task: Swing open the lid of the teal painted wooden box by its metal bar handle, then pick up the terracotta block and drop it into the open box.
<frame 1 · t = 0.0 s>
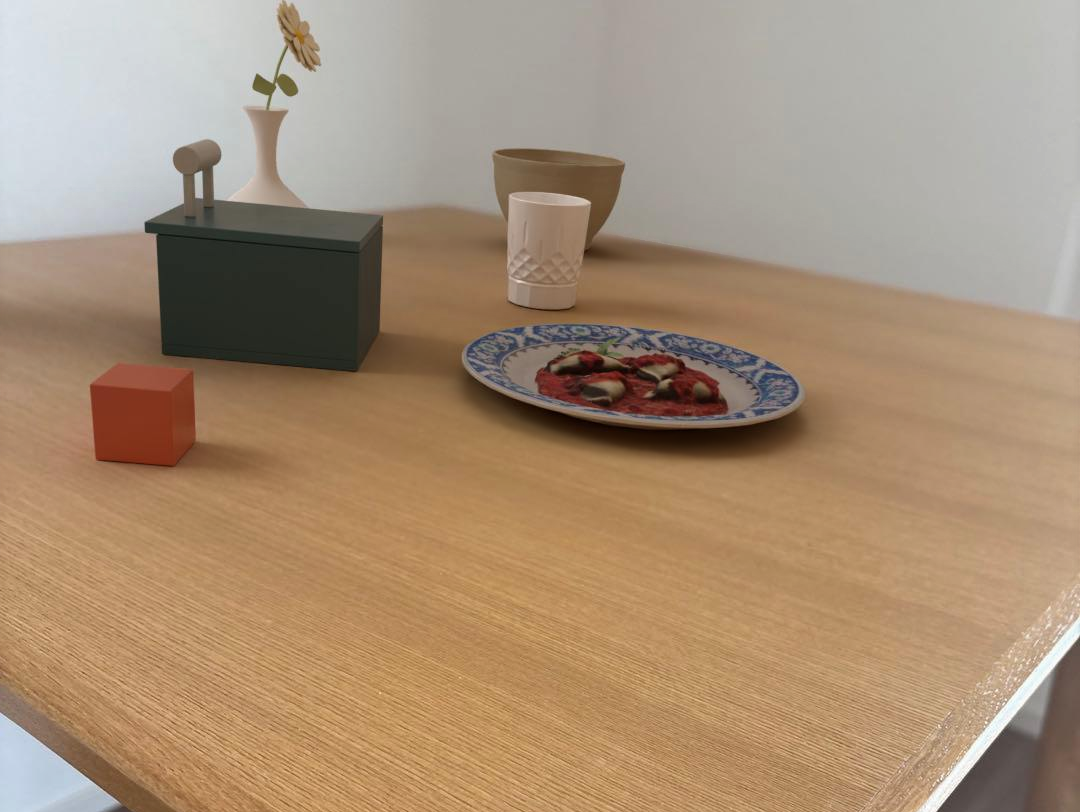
planter bowl: (550, 248, 141), on the table
white cup: (540, 304, 112), on the table
chest: (277, 341, 91), on the table
block: (147, 449, 67), on the table
lid: (271, 189, 86), point 12 cm above the table, hinge at 0.0°
flower in vase: (272, 234, 133), on the table
ceramic plate: (629, 397, 86), on the table
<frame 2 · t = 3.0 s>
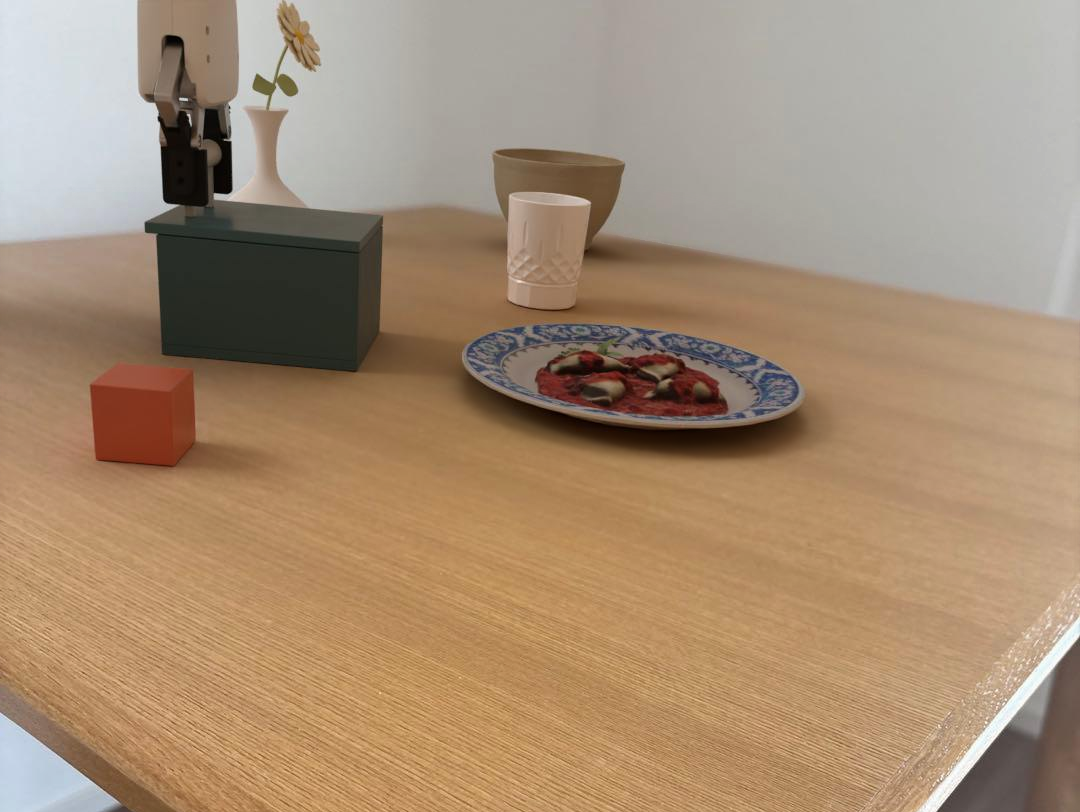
hand: (199, 196, 86), 11 cm above the table, tool pointing down, fingers closed on lid, 6 cm apart
lid: (271, 189, 86), point 12 cm above the table, hinge at 0.0°, touching gripper
everything else where it was.
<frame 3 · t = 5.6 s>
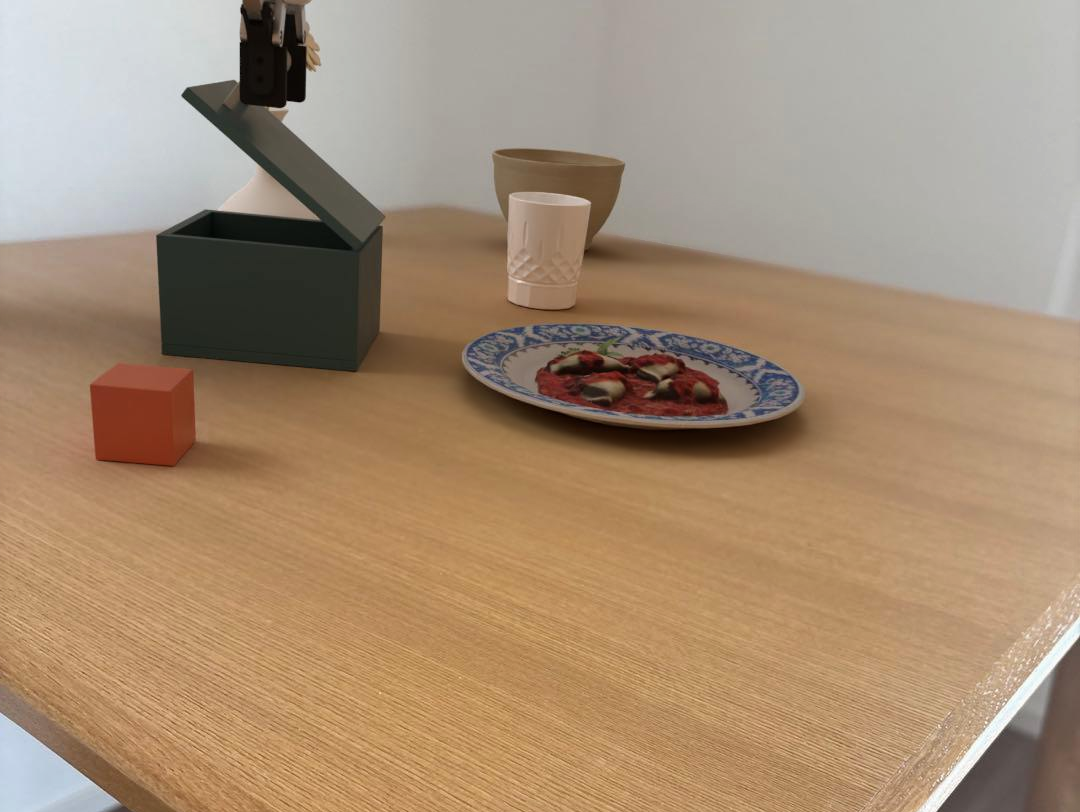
hand: (273, 100, 83), 18 cm above the table, tool pointing down, fingers closed on lid, 6 cm apart
lid: (313, 135, 84), point 16 cm above the table, hinge at 37.6°, touching gripper
everything else where it was.
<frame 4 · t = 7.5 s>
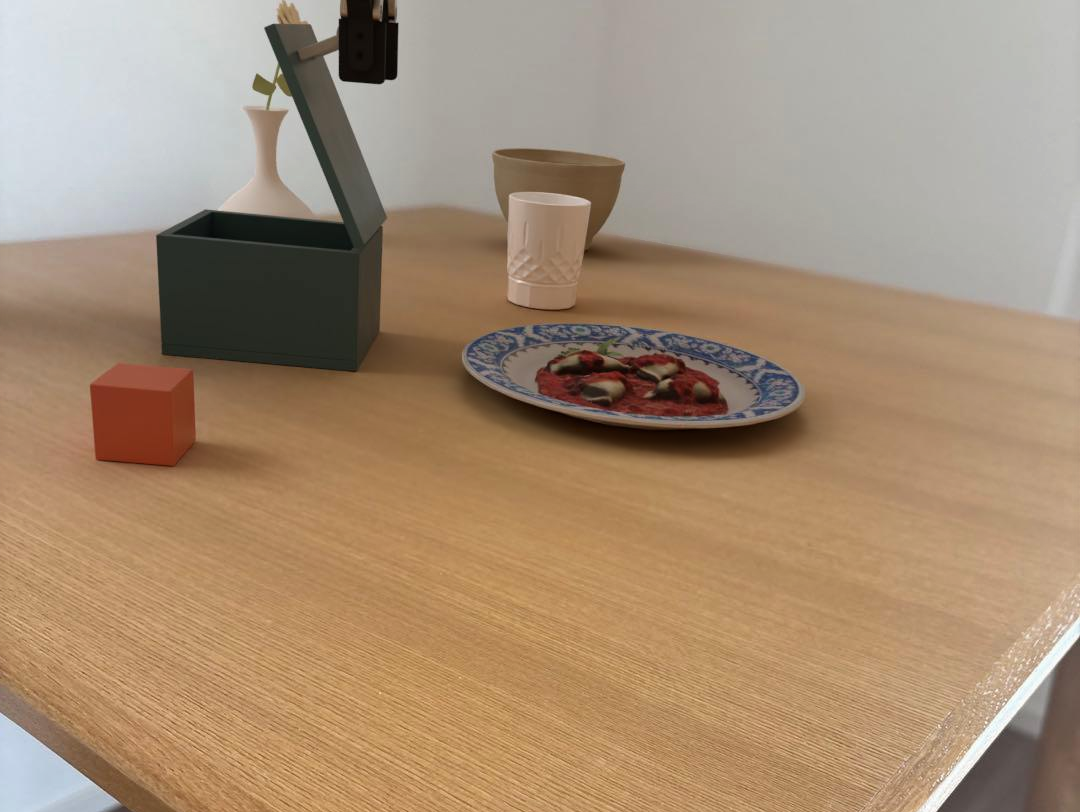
hand: (369, 78, 82), 20 cm above the table, tool pointing down, fingers closed on lid, 6 cm apart
lid: (362, 121, 84), point 17 cm above the table, hinge at 65.5°, touching gripper
everything else where it was.
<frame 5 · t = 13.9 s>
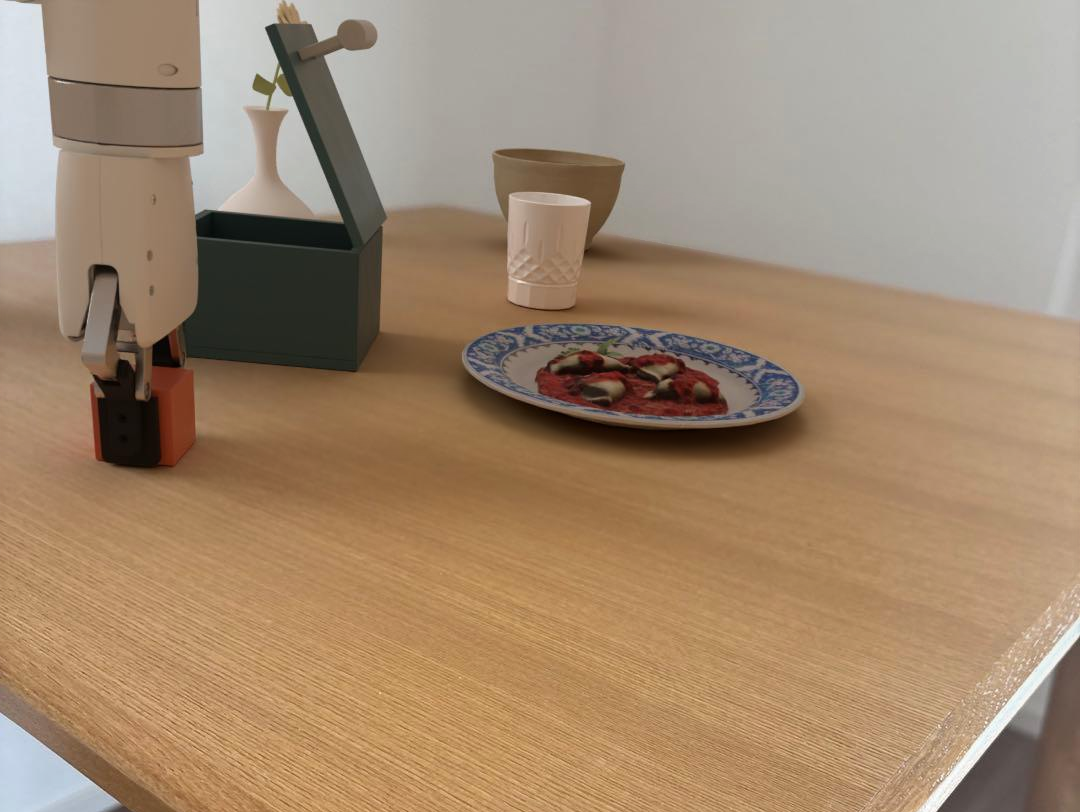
hand: (146, 444, 67), 0 cm above the table, tool pointing down, fingers closed on block, 4 cm apart
block: (147, 449, 67), on the table, touching gripper
lid: (363, 120, 84), point 17 cm above the table, hinge at 65.7°
everything else where it was.
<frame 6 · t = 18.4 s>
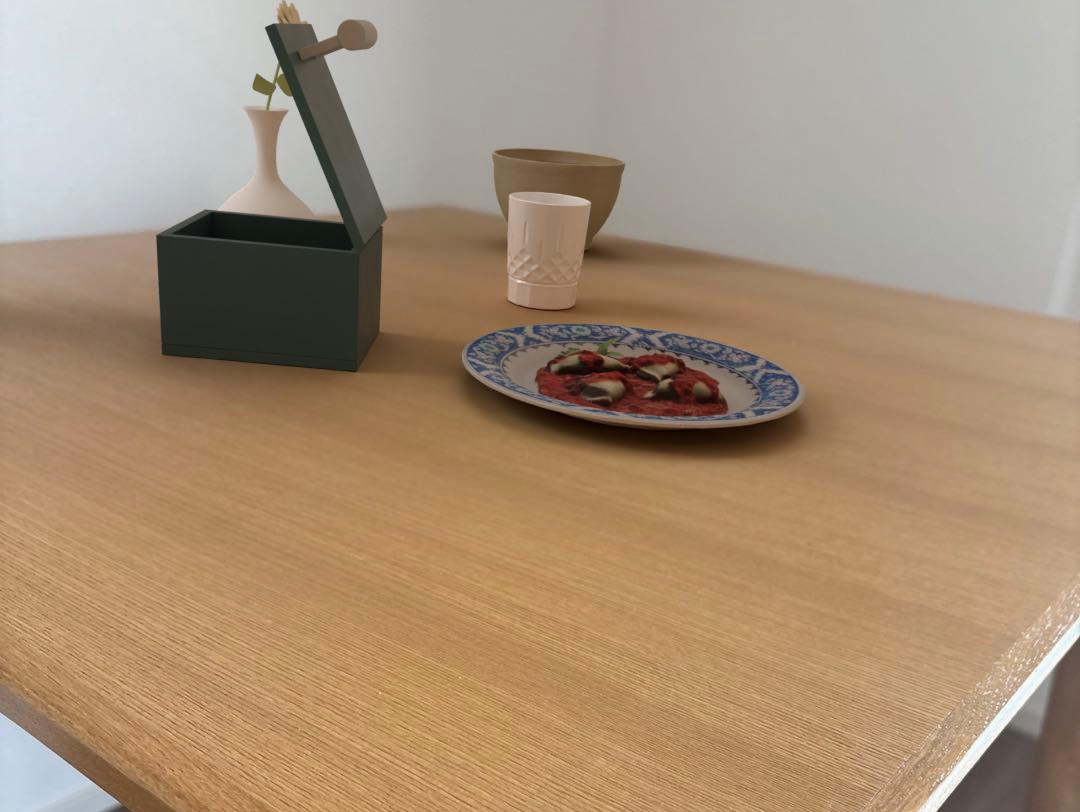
when the fingers open (7 cm above the table, at t = 23.2 s): block drops 6 cm, resting on chest.
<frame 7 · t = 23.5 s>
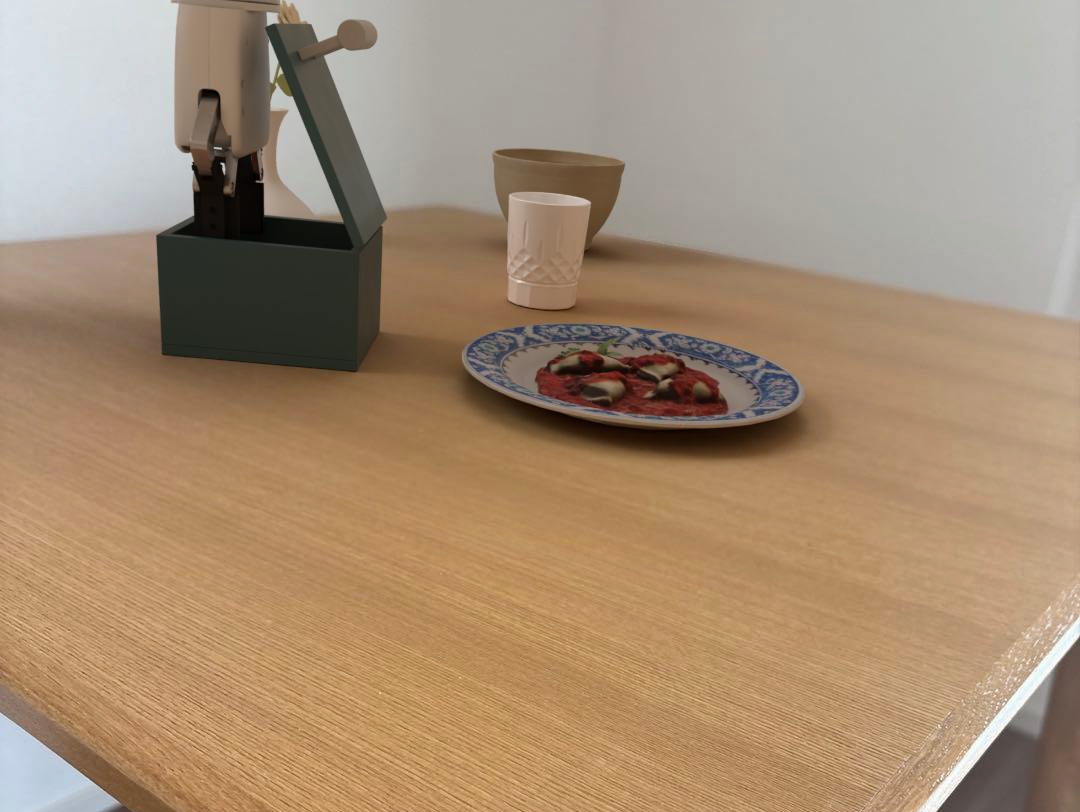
hand: (231, 239, 87), 8 cm above the table, tool pointing down, fingers open, 7 cm apart
block: (234, 328, 90), point 1 cm above the table, touching chest
everything else where it was.
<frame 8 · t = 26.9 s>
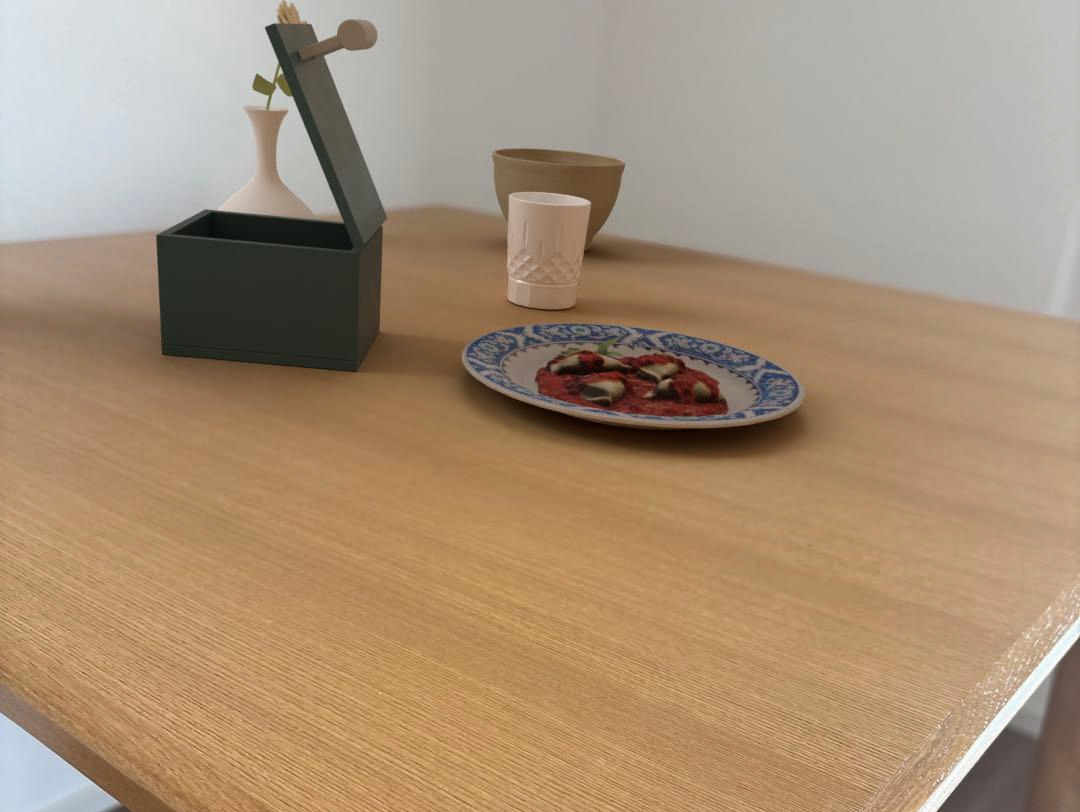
nothing on the table moved.
at the end: lid at +66° (first picture: +0°); block inside the target area in the chest (3.5 cm from its centre), point 0.8 cm above the chest's base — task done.
